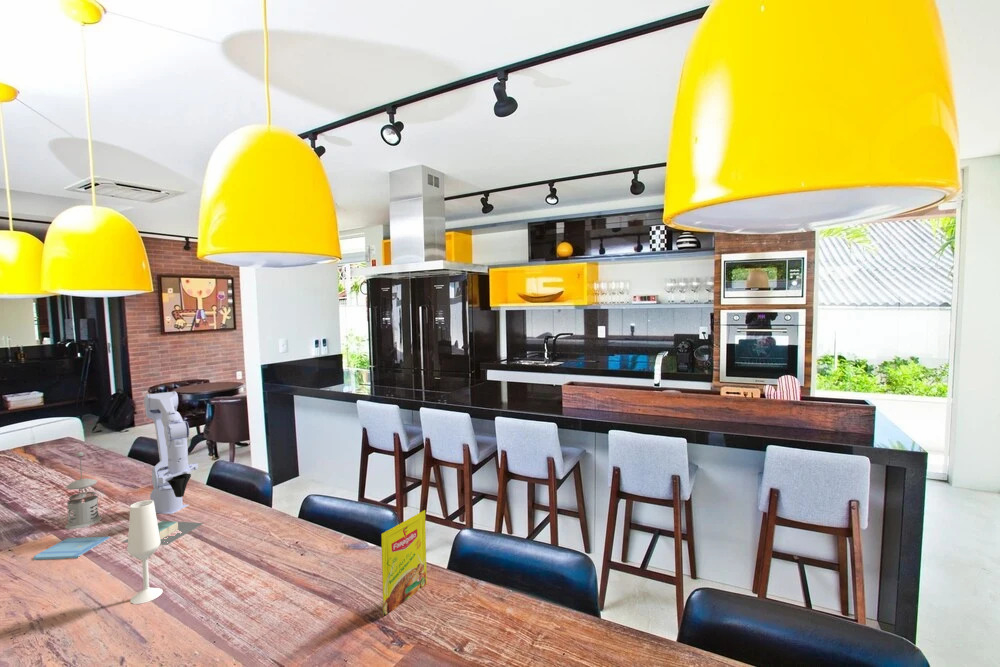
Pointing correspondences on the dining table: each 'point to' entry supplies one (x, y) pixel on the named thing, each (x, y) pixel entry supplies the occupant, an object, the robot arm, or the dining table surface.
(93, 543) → the folded blue cloth
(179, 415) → the robot arm
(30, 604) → the dining table surface
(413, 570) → the food package
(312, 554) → the dining table surface
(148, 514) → the champagne flute
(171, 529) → the beige and teal block
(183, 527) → the mat
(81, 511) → the french press
